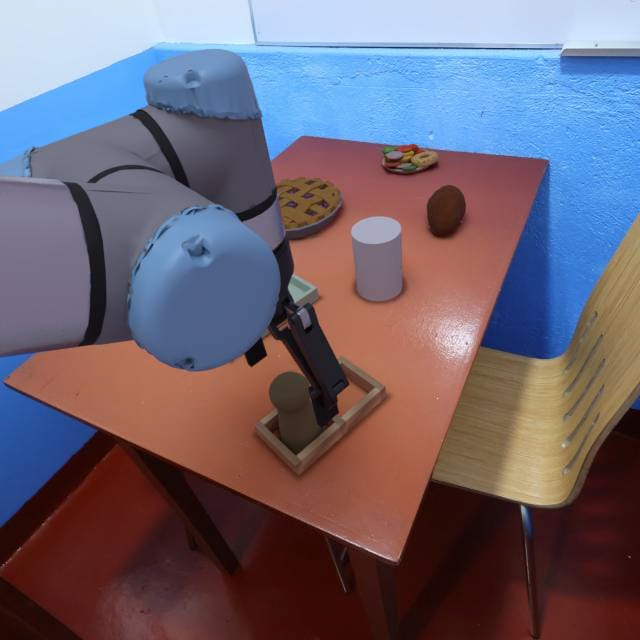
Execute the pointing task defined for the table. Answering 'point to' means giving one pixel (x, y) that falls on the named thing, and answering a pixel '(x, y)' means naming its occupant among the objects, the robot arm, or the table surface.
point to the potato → (445, 209)
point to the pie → (307, 205)
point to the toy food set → (407, 159)
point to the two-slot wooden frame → (336, 423)
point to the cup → (377, 258)
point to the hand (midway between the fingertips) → (290, 387)
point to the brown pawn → (294, 411)
